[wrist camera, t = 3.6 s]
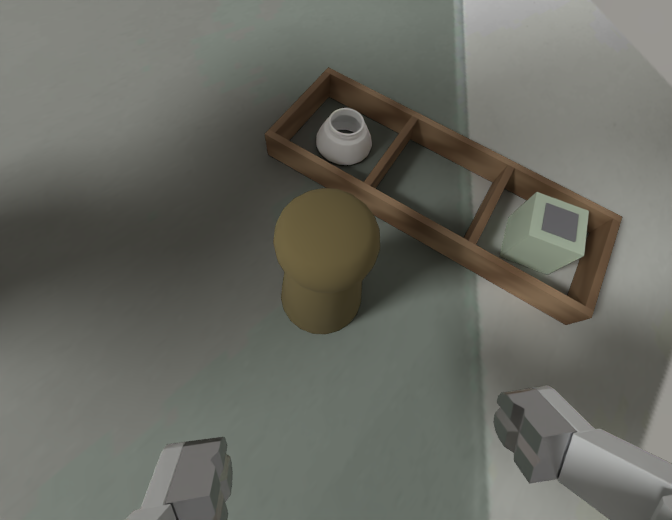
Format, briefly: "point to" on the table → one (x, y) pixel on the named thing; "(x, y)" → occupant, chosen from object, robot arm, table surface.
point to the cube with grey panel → (545, 234)
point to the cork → (325, 257)
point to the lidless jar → (344, 137)
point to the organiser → (468, 156)
